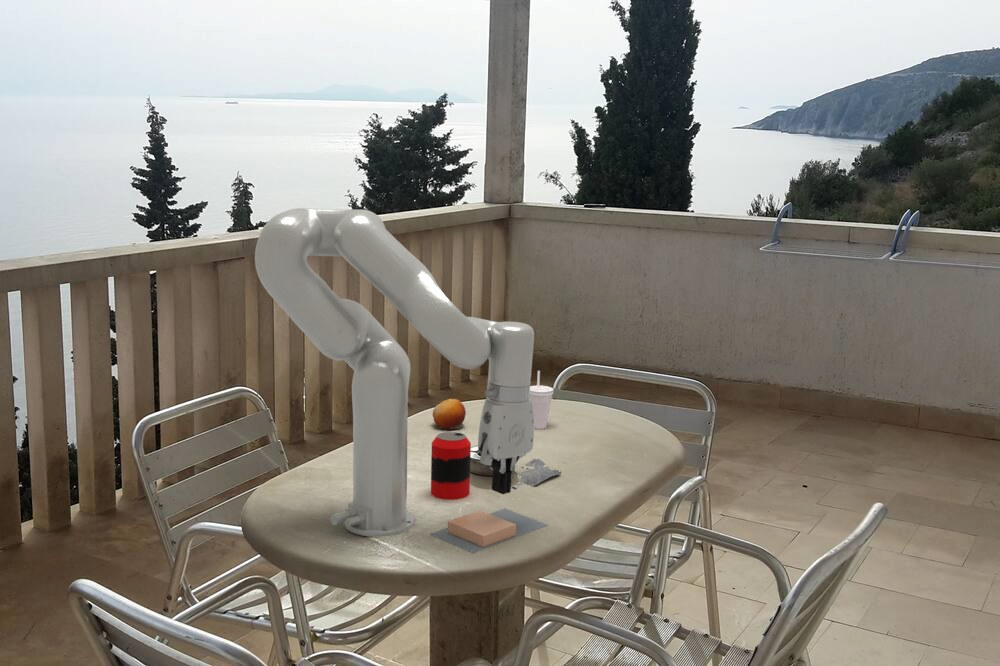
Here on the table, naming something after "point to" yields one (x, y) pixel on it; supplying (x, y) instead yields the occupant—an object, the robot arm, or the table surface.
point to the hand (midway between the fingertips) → (500, 491)
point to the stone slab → (536, 473)
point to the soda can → (450, 466)
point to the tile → (481, 528)
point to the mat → (522, 528)
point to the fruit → (449, 414)
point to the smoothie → (540, 403)
